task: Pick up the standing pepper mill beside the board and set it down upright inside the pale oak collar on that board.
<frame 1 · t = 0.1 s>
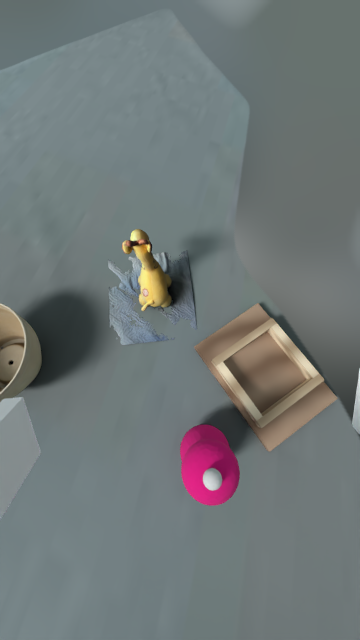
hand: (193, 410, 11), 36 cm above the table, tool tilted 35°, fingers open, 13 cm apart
planter bowl: (18, 363, 48), on the table
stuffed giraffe: (151, 297, 51), on the table
holder board: (261, 372, 46), on the table
pepper mill: (203, 446, 43), on the table
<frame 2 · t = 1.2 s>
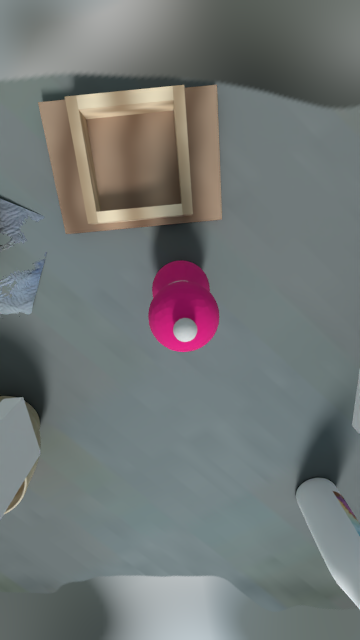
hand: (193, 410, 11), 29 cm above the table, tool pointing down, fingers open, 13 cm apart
milk bottle: (314, 490, 51), on the table
planter bowl: (12, 417, 44), on the table
holder board: (137, 167, 33), on the table
pepper mill: (180, 283, 38), on the table
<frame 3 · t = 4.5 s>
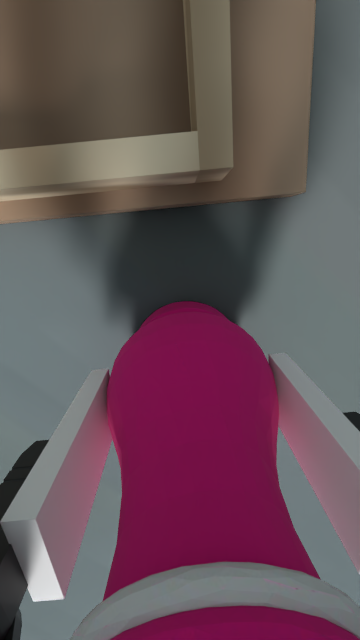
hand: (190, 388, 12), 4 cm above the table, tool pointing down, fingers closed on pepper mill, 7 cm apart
holder board: (65, 40, 11), on the table
pepper mill: (186, 349, 16), on the table, touching gripper
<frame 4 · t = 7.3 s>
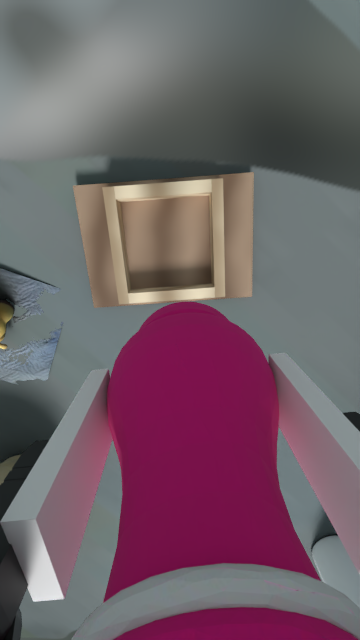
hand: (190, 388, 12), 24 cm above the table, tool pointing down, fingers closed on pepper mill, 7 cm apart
milk bottle: (330, 546, 50), on the table
holder board: (168, 244, 33), on the table
pepper mill: (186, 349, 16), point 19 cm above the table, touching gripper
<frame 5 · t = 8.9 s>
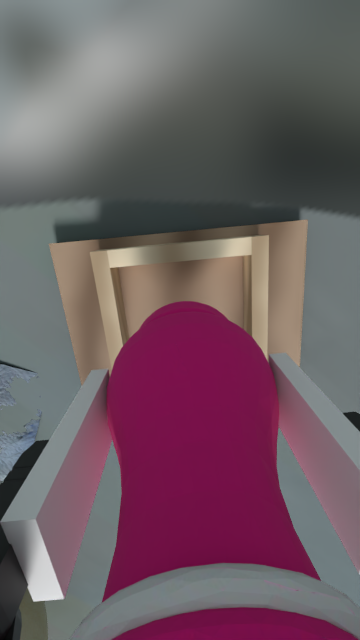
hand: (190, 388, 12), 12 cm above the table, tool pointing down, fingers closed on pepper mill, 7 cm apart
planter bowl: (11, 581, 35), on the table
holder board: (184, 313, 24), on the table
pepper mill: (186, 349, 16), point 8 cm above the table, touching gripper
when the fingers open (7 cm above the table, at t = 10.3 s): pepper mill drops 1 cm, resting on holder board.
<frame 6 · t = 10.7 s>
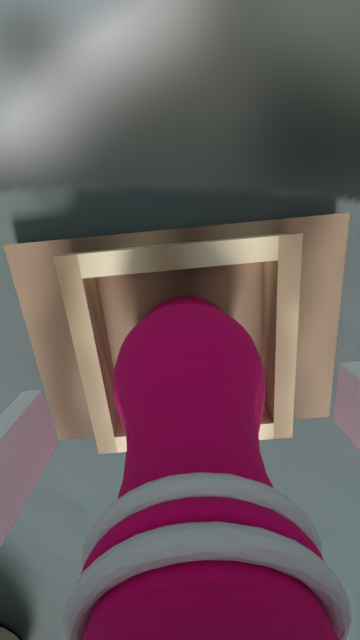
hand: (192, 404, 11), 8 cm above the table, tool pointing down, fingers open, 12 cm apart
holder board: (184, 333, 19), on the table
pepper mill: (185, 340, 18), point 1 cm above the table, touching holder board
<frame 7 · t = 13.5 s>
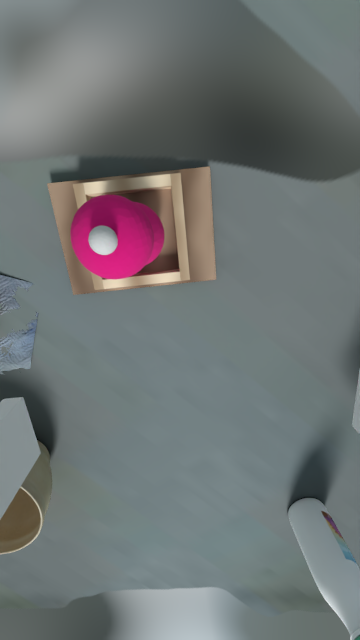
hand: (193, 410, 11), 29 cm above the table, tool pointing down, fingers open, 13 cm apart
milk bottle: (304, 508, 55), on the table
planter bowl: (23, 453, 48), on the table
holder board: (138, 234, 36), on the table
pepper mill: (137, 234, 35), point 1 cm above the table, touching holder board
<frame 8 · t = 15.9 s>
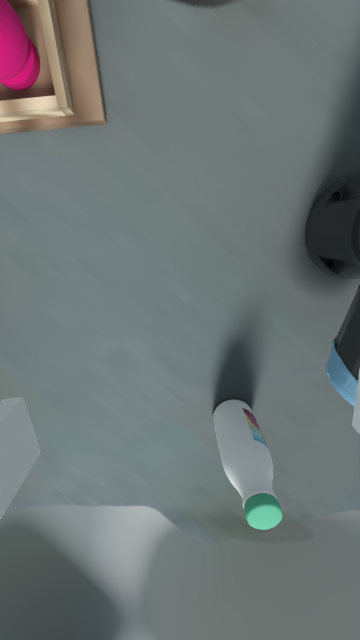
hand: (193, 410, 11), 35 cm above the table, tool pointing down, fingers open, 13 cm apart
milk bottle: (231, 414, 52), on the table
holder board: (21, 67, 35), on the table
pepper mill: (16, 62, 33), point 1 cm above the table, touching holder board
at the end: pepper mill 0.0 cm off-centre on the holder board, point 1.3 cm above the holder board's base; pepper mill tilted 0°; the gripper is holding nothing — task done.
